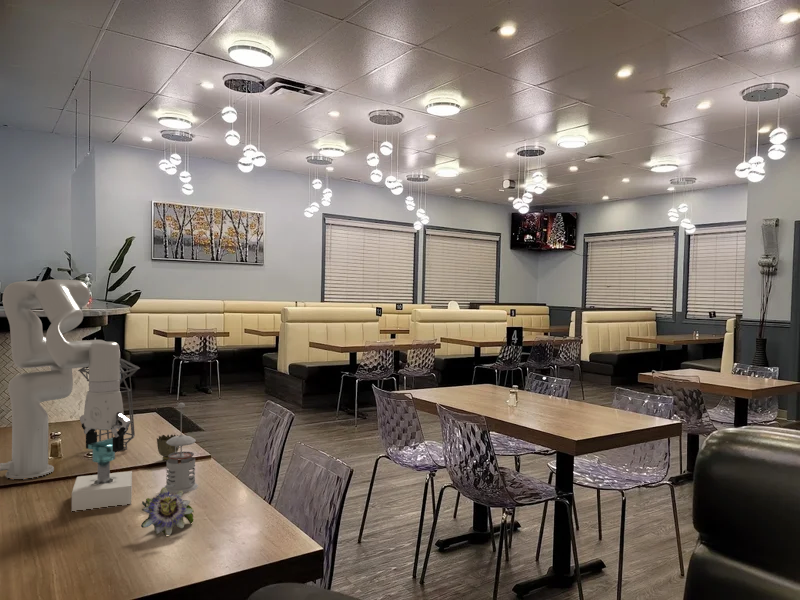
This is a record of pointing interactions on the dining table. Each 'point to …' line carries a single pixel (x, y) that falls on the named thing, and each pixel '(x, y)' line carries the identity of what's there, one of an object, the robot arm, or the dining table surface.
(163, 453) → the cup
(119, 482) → the block
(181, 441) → the french press
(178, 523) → the passion flower
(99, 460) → the teal strapped cylinder
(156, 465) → the dining table surface
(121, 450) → the geometric lantern
